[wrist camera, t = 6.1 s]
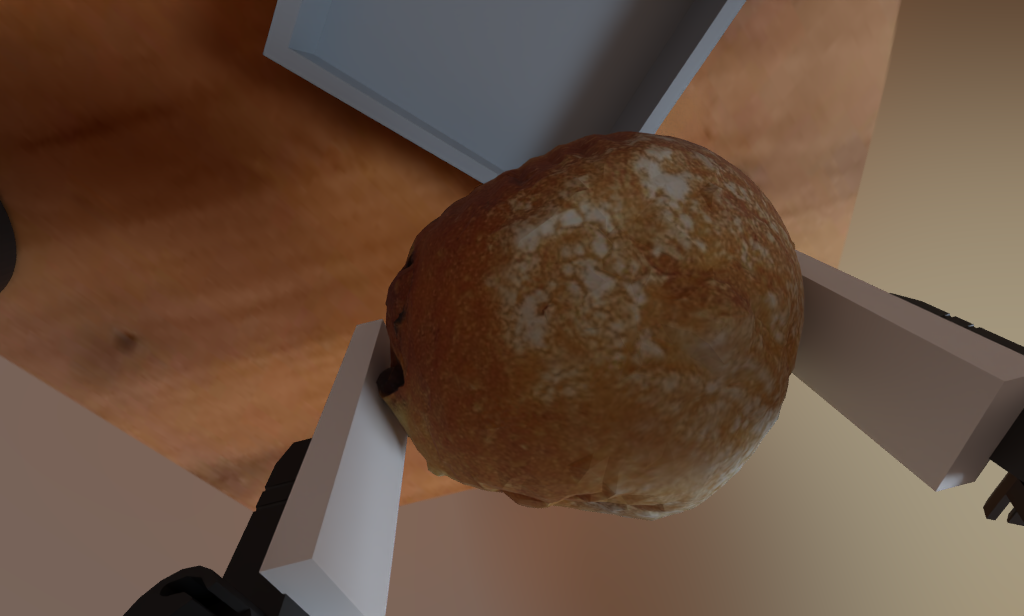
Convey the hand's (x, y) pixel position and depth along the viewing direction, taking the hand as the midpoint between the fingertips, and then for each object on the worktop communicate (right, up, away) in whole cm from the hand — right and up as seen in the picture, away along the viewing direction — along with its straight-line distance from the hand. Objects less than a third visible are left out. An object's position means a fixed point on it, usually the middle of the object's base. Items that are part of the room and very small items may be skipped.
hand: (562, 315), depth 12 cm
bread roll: (0, 0, 0) cm, 1 cm away
